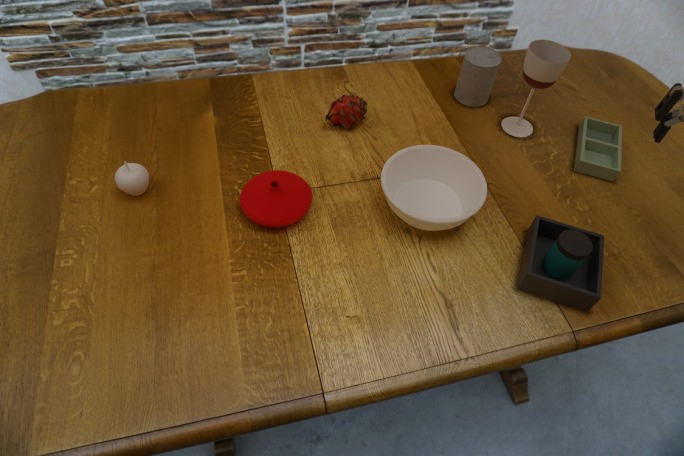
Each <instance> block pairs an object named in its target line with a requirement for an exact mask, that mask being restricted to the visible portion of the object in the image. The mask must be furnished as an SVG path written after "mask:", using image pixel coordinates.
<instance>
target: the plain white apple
mask: <svg viewBox="0 0 684 456" xmlns="http://www.w3.org/2000/svg"><path fill="white" fill-rule="evenodd" d="M114 182H115V185H116V187H117V188H118V189H119V190H120V191H122V192H123V193H126V194H128V195H130V194H131V195H130V196H133V197H138V196H141V195H143V194H145V192H146V191H147V190H148V188H149V184H150V174H149V171H148V169H146V167H145V166H144V165H142V164H140V163H137V162H127V161H123V165H121V166H120V167H118V169H117V170H116V172H115V173H114ZM146 188H147V189H146ZM143 191H144V192H143ZM142 192H143V193H142ZM139 193H141V194H139ZM135 194H137V195H135Z"/></svg>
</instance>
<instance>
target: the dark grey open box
mask: <svg viewBox="0 0 684 456" xmlns="http://www.w3.org/2000/svg"><path fill="white" fill-rule="evenodd" d="M531 222H532V223H531V224H530V226H529V227H528V229H527V231H526V236H525V240H524V241H525V242H524V247H523V252H522V258H521V262H520V268H519V274H518V279H517V285H516V290H520V291H522V292H524V293H525V292H526V293H529V294H531V295H535V296H538V297H540V298H544V299H547V300H550V301H552V302H556V303H559V304H562V305H564V306H567V307H571V308H573V309H577V310H579V311H582V312H585V313H588V312H589V311H590V310H591V309H592V308H593V307H594V306H596V304H597V303H598V302H599V301H600V300H601V299H602V288H603V287H602V286H603V269H604V268H603V267H604V248H605V235H604V234H601V233H598V232H595V231H591V230H588V229H585V228H581V227H579V226H574V225H571V224H568V223H564V222H561V221H558V220H554V219H552V218H548V217H545V216H542V215H537V214H536V215H535V217H534V218H533V220H532V221H531ZM568 229H573V230H577V231H580V232H582V233H584V234H585V235H586V236H588V237H589V239H590V240H591V242H592V245H593V249H592V251H591V253H590V254H589V255H588V256H587V258H586V259H585V260H584V261H583V262H582V264H581V265H580V266H579V267H578V268H577V270H576V271H575V272H574V273H573V274H572V276H571V277H570V278H569V279H567V280H563V281H559V280H555V279H552V278H550V277H549V276H548V275H546V273H545V272H544V271H543V269H542V266H541V262H542V259H543V258H544V257H545V255H546V254H547V252H548V251H549V249H550V248H551V247H552V245H553V244H554V242H555V241H556V239H557V238H558V236H559V235H560V234H561V232H563V231H565V230H568Z"/></svg>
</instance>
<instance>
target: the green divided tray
mask: <svg viewBox="0 0 684 456" xmlns="http://www.w3.org/2000/svg"><path fill="white" fill-rule="evenodd" d="M577 131H578V132H577V138H576V139H577V140H576V149H575V156H574V157H575V158H574V165H573V171H574V172H577V173H580V174H584V175H587V176H590V177H591V176H592V177H595V178H598V179H602V180H605V181H606V180H607V181H610V182H615V181H616V179H617V178H618V177H619V175H620V174H621V172H622V149H623V148H622V145H623V125H621V124H617V123H614V122H610V121H606V120H602V119H599V118H596V117H595V118H594V117H592V116H591V117H590V116H586V115H585V116H584V117H583V118H582V120H581V122H580V124H579V126H578V130H577Z"/></svg>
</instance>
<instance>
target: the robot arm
mask: <svg viewBox="0 0 684 456" xmlns="http://www.w3.org/2000/svg"><path fill="white" fill-rule="evenodd" d="M682 101H684V87H683V84H682V83H680V82H676V83H674V84H673V85H672V86H671V88H670V89H669V90H668V91H667V93H666V94H665V95H664V96H663V98H662V99H661V101H660V102H659V103H657V105H656V107H655V108H654V120H655V121H656V122H658V124H657V126H656V127H655V128H654V130H653V132H652V133H653V134H652V138H653V139H654V143H656V144H660V143H661V142H662V141H663V140H664V138H665V137H666V136H667V134H668V133H669V132H670V130H671V129H672V126H674V125H676V124H679V123H684V102H682ZM681 102H682V103H681ZM677 103H681V104H679V105H678V106H677V107H676V108H674V107H675V105H676V104H677ZM673 108H674V109H673Z"/></svg>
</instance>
